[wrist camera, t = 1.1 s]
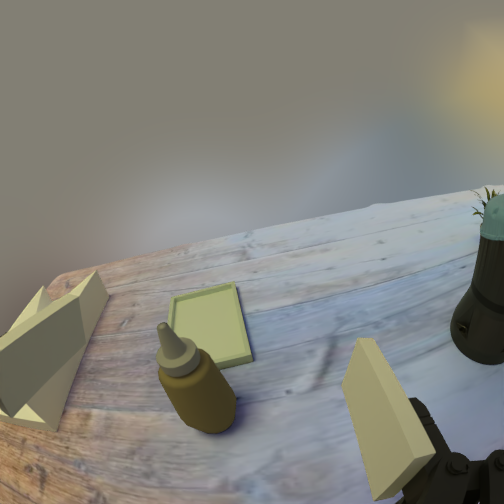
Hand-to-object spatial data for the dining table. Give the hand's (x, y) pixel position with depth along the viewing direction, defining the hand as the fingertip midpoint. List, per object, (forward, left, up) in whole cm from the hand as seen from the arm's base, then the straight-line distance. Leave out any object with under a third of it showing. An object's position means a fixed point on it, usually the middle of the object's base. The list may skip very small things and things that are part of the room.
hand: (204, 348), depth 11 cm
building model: (+24, -52, -26) cm, 63 cm away
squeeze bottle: (-1, -14, -26) cm, 29 cm away
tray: (-11, -32, -25) cm, 42 cm away
